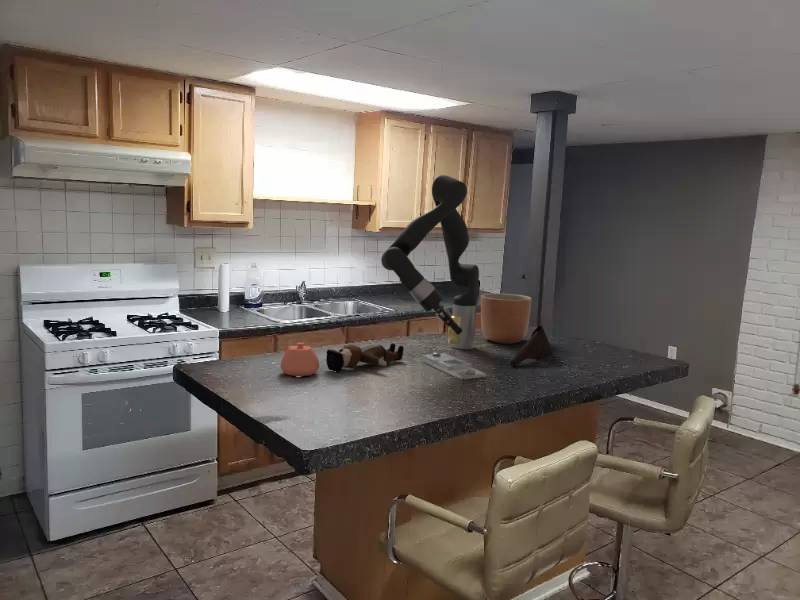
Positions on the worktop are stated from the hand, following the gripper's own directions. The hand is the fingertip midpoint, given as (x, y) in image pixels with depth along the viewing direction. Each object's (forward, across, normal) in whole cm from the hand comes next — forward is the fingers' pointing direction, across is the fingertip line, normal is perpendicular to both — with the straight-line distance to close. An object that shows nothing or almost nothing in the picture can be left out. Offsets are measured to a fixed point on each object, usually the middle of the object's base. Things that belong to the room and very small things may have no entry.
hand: (459, 331), depth 215 cm
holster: (+30, +18, -10) cm, 36 cm away
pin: (+2, 0, +4) cm, 4 cm away
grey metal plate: (+8, 0, +11) cm, 13 cm away
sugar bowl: (-27, -15, +46) cm, 56 cm away
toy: (-13, -1, +32) cm, 34 cm away
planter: (+25, +53, -6) cm, 59 cm away
